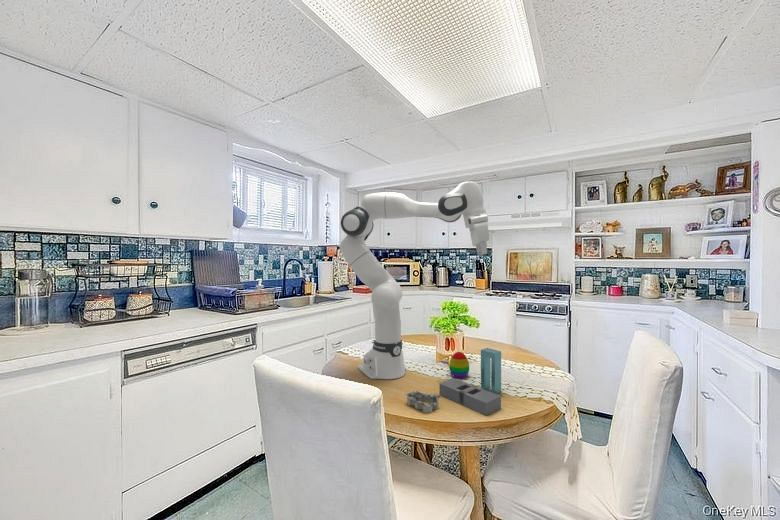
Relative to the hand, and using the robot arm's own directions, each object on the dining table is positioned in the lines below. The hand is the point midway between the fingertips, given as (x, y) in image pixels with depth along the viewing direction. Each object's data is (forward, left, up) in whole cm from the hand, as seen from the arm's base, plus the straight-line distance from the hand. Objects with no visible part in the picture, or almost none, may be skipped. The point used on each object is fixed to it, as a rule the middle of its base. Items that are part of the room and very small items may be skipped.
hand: (482, 254), depth 130 cm
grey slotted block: (+8, -19, -50) cm, 54 cm away
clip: (+8, -6, -50) cm, 51 cm away
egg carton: (0, -34, -51) cm, 61 cm away
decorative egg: (-9, -4, -51) cm, 51 cm away
